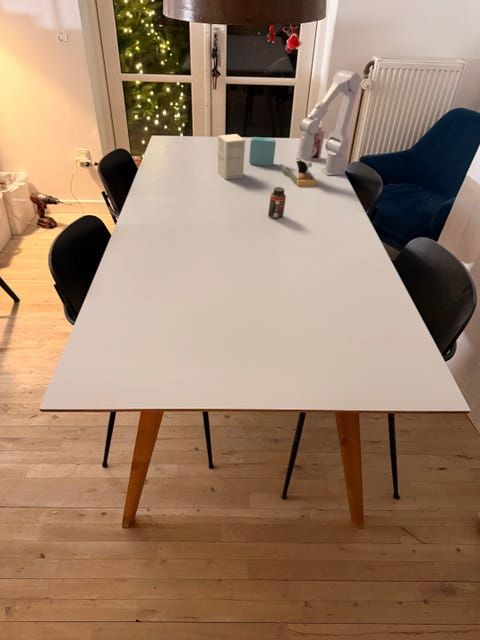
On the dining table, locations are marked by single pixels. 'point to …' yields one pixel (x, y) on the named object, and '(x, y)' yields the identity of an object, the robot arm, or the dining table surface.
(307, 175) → the tan rounded capsule
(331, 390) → the dining table surface
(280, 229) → the dining table surface
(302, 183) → the keyhole track
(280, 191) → the supplement bottle
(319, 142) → the greeting card
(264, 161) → the data package
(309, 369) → the dining table surface
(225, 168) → the supplement box
